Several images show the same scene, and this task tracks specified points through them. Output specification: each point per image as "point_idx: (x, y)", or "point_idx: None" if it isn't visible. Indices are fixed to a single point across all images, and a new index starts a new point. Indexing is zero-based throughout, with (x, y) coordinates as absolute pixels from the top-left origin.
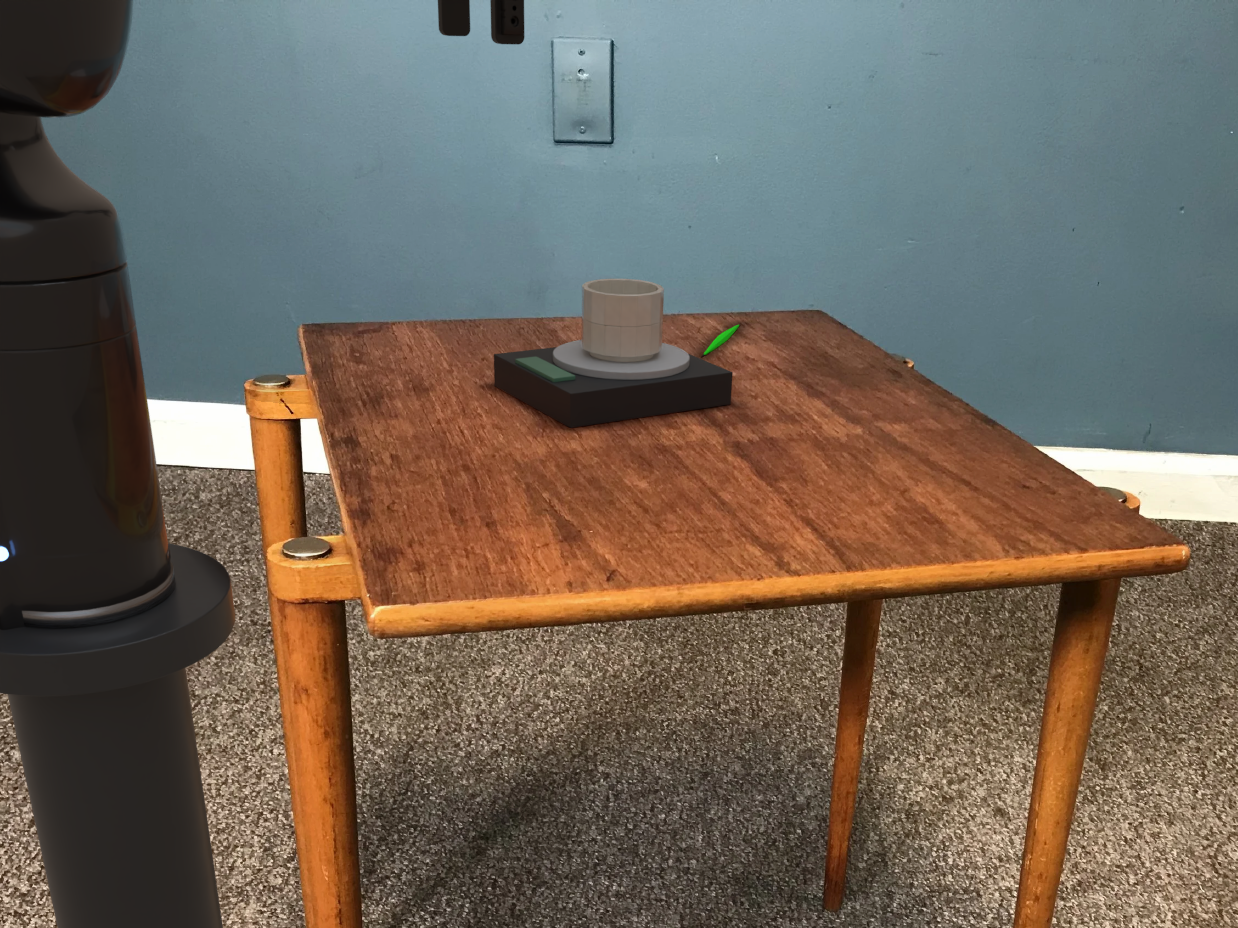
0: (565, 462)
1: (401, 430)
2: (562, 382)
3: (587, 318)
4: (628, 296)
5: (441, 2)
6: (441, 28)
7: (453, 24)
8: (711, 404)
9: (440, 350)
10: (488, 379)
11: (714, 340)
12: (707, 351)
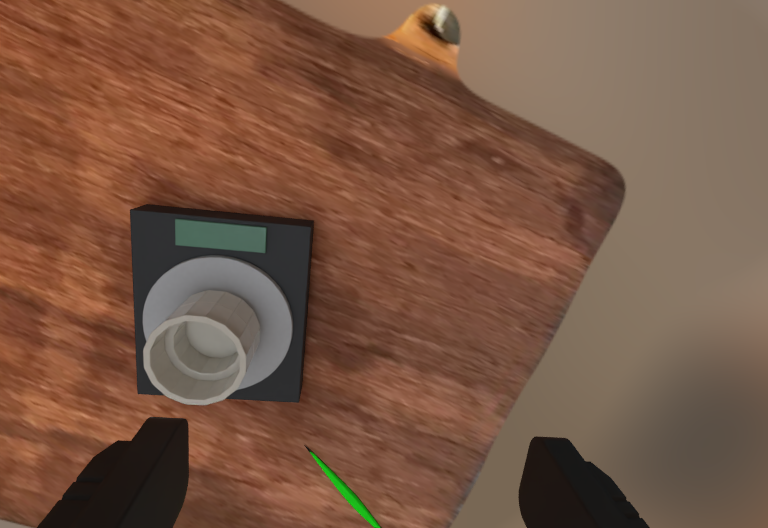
0: (48, 137)
1: (215, 51)
2: (173, 226)
3: (206, 302)
4: (147, 340)
5: (583, 501)
6: (551, 441)
7: (538, 481)
8: None
9: (464, 246)
10: (340, 229)
11: (341, 485)
12: (315, 459)
